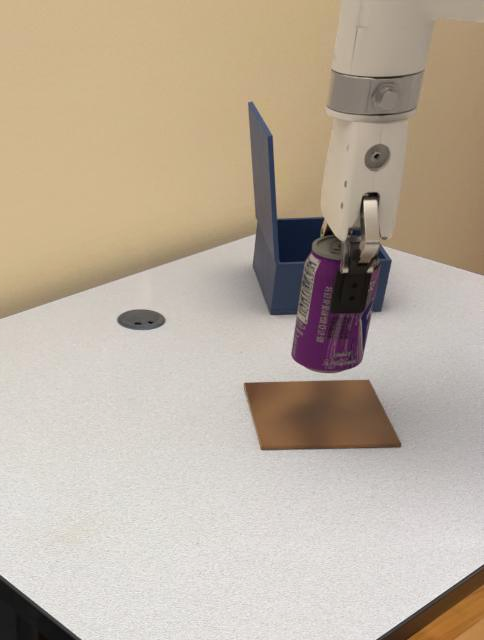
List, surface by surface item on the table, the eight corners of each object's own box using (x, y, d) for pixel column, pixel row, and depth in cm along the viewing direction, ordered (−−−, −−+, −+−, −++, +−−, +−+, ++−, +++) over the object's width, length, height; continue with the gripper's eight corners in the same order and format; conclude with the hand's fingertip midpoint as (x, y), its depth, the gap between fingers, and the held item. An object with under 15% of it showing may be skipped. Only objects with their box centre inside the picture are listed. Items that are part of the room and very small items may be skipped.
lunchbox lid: (252, 101, 116) (247, 102, 116) (272, 135, 103) (267, 136, 103) (259, 216, 125) (255, 217, 125) (279, 260, 112) (274, 261, 112)
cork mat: (368, 382, 101) (369, 379, 101) (400, 446, 91) (401, 443, 90) (243, 385, 102) (243, 382, 102) (260, 449, 92) (261, 446, 91)
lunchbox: (352, 262, 128) (360, 215, 124) (381, 311, 115) (392, 260, 111) (252, 266, 129) (257, 219, 125) (270, 314, 116) (276, 264, 112)
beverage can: (348, 384, 89) (371, 263, 81) (279, 369, 92) (296, 251, 84) (370, 355, 93) (394, 238, 85) (304, 342, 96) (322, 228, 88)
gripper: (449, 115, 69) (399, 332, 81) (392, 70, 83) (356, 262, 94) (350, 120, 70) (315, 334, 82) (310, 74, 83) (284, 264, 95)
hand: (337, 294), depth 88 cm, fingers closed on beverage can, 7 cm apart
